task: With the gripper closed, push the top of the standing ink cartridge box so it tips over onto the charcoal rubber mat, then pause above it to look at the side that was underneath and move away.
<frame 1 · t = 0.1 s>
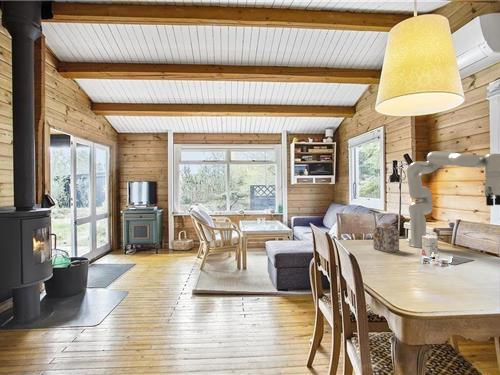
hand: (494, 205, 166), 31 cm above the table, tool pointing down, fingers open, 9 cm apart
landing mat: (450, 260, 167), on the table
ink cartridge box: (429, 256, 177), on the table
decorative jar: (386, 250, 196), on the table
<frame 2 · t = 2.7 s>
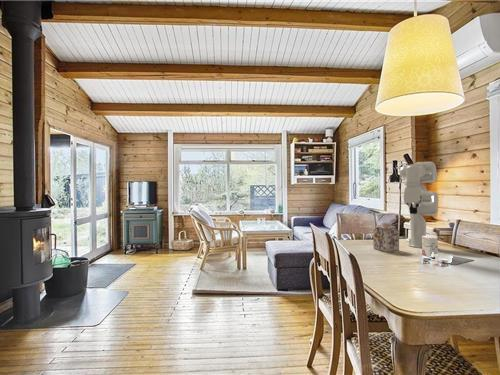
hand: (413, 213, 186), 25 cm above the table, tool pointing down, fingers closed
nothing on the table moved.
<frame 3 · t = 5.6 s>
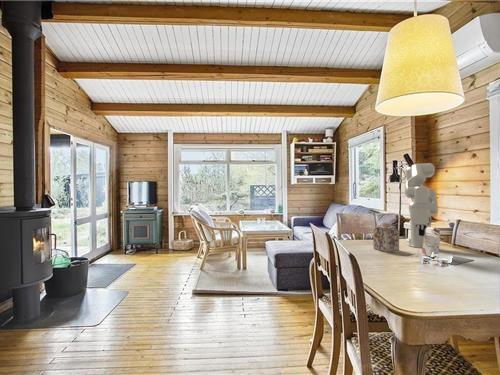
hand: (421, 235, 181), 12 cm above the table, tool pointing down, fingers closed
ink cartridge box: (429, 255, 177), on the table, touching gripper
everything else where it was.
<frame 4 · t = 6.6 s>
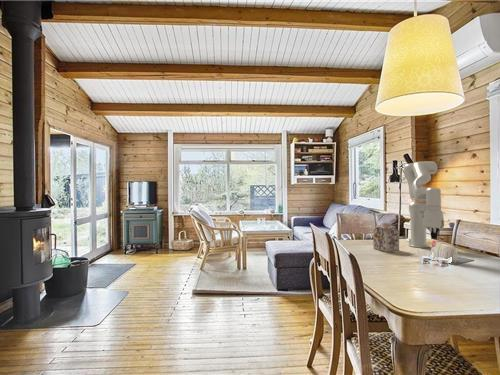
hand: (434, 238, 175), 11 cm above the table, tool pointing down, fingers closed
ink cartridge box: (434, 247, 173), point 6 cm above the table
everything else where it was.
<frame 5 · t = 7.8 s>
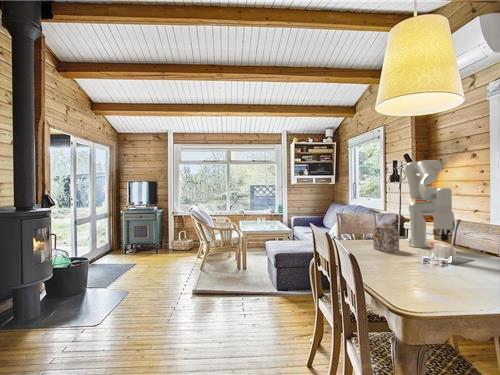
hand: (444, 240, 170), 11 cm above the table, tool pointing down, fingers closed
ink cartridge box: (434, 249, 174), point 5 cm above the table, touching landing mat
everything else where it was.
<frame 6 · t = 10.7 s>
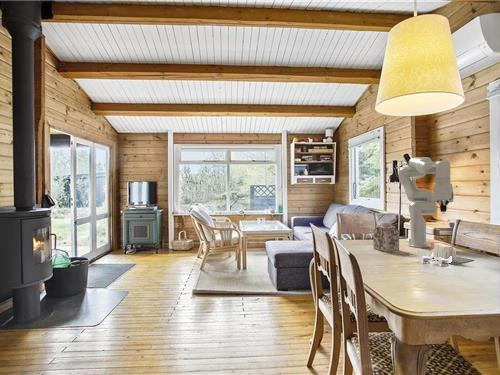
hand: (443, 211, 176), 27 cm above the table, tool pointing down, fingers closed
nothing on the table moved.
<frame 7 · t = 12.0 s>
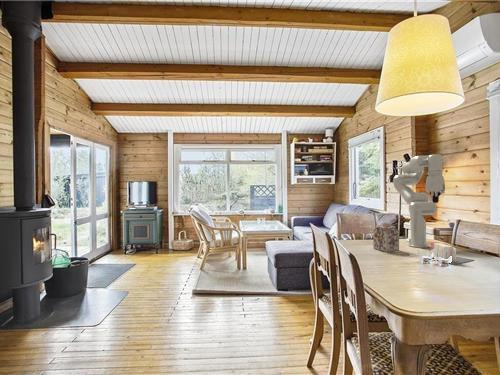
hand: (435, 202, 186), 32 cm above the table, tool pointing down, fingers closed
nothing on the table moved.
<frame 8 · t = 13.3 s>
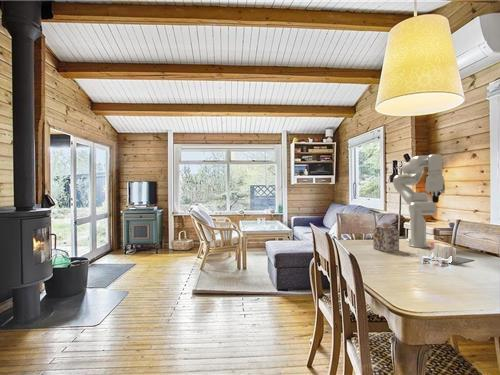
hand: (435, 202, 186), 32 cm above the table, tool pointing down, fingers closed
nothing on the table moved.
at the end: ink cartridge box tilted 90°; ink cartridge box touching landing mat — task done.
